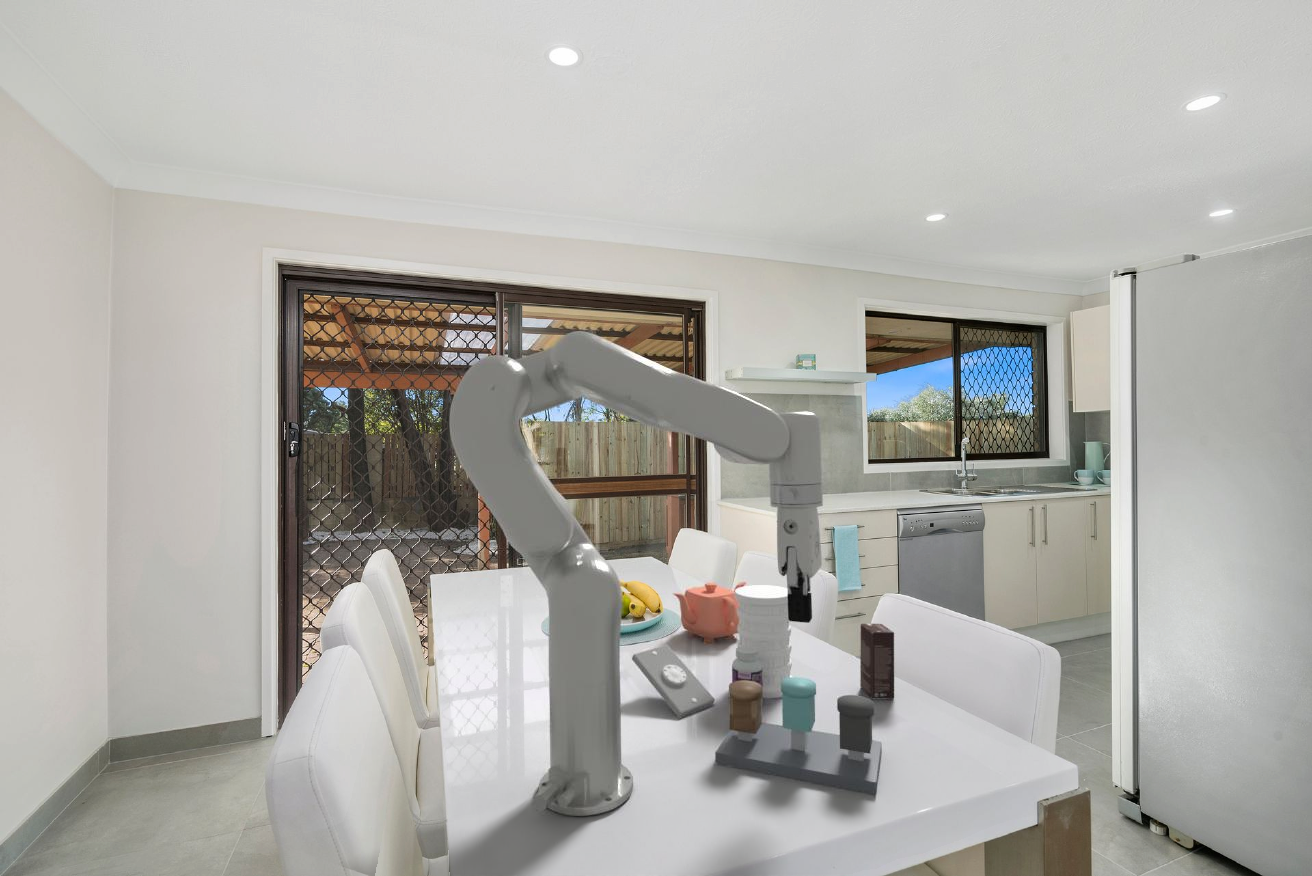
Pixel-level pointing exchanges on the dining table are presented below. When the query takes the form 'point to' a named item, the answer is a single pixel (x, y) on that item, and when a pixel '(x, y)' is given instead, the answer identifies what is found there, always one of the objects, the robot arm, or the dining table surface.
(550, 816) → the dining table surface
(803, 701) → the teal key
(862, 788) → the panel
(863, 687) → the box
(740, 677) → the pill bottle
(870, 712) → the dark grey round-topped block
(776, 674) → the decorative container
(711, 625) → the teapot
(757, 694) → the walnut key
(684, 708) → the light switch
